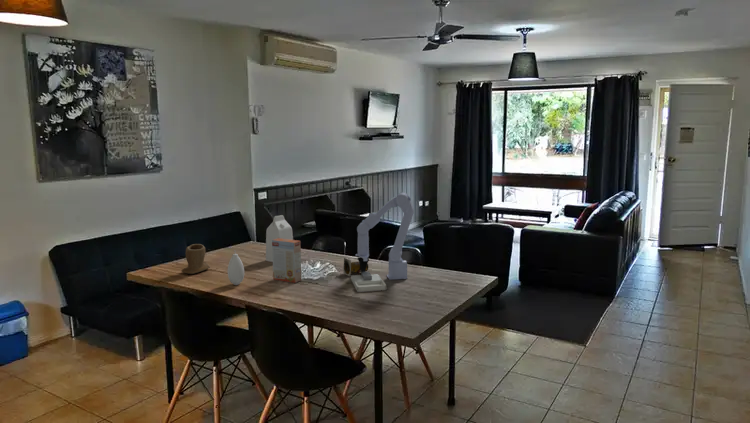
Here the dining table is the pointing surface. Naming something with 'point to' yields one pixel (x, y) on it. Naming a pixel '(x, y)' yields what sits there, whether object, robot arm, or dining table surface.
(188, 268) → the stone cup
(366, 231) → the robot arm
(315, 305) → the dining table surface
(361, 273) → the tile rear
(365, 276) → the tile front
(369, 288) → the tray
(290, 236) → the milk
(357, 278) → the board
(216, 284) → the dining table surface
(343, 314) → the dining table surface
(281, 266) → the cracker box
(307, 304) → the dining table surface
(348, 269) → the condiment
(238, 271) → the white vase
